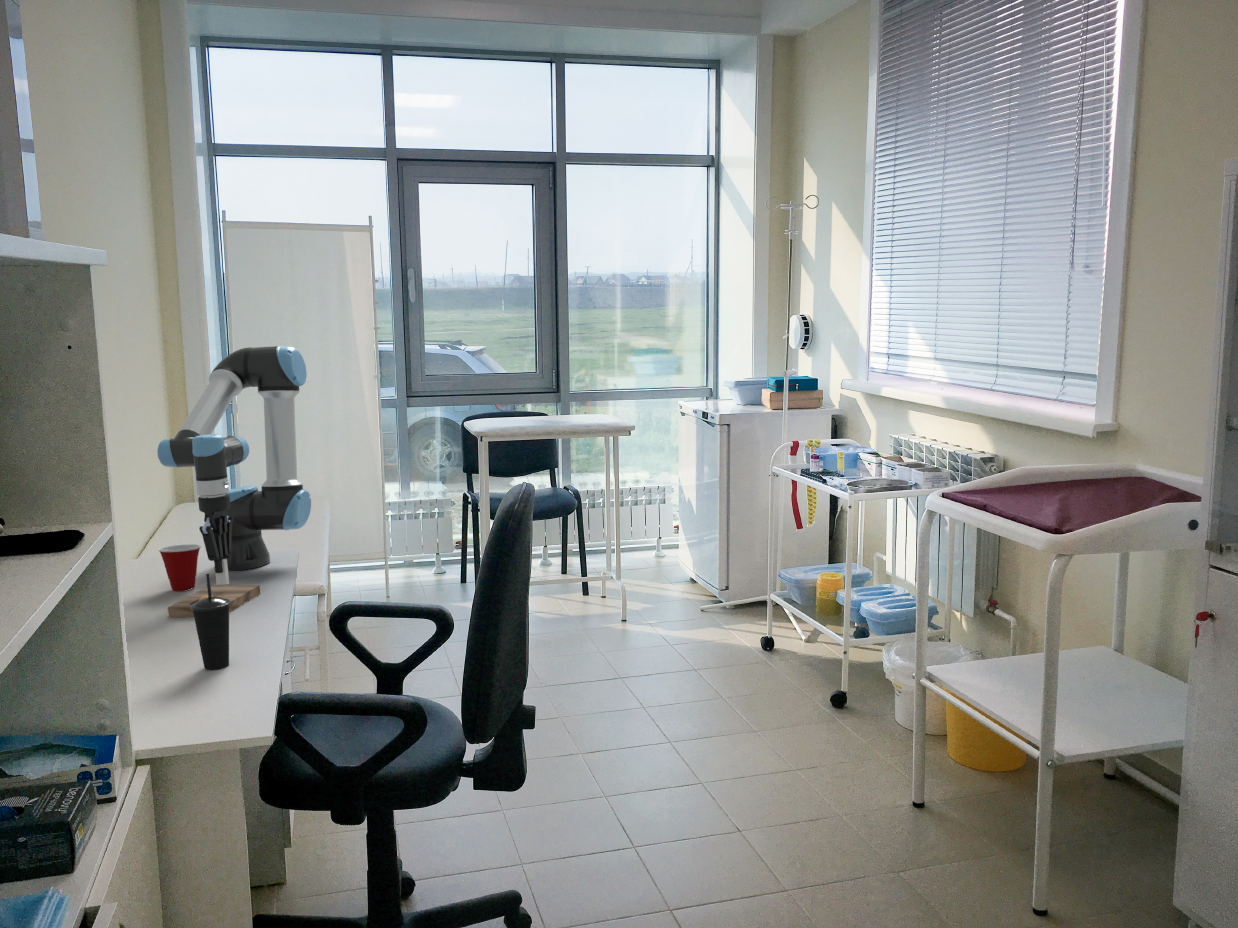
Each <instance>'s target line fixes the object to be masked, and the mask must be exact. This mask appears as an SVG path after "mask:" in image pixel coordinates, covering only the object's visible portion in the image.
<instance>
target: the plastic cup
mask: <svg viewBox="0 0 1238 928" xmlns="http://www.w3.org/2000/svg"><path fill="white" fill-rule="evenodd" d="M201 547H202V545H201V544H189V543H188V544H176V545H175V544H174V545H168V546H167V545H166V546H162V547H158V548H157V549H158V552H159V554H160V556H161V558H162V559H161V560H162V561H163V563H164V568H165V571H166V575H167V578H168V581H169V583H170V587H171V589H172V591H173V592H186V591H185V590H187V591H189V590H188V589H191V588H193V587H196V579H197V572H198V571H197V570H198V558H199V553H200V549H201ZM193 589H194V588H193ZM191 590H192V589H191Z"/></svg>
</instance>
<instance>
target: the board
mask: <svg viewBox="0 0 1238 928" xmlns="http://www.w3.org/2000/svg"><path fill="white" fill-rule="evenodd" d="M210 585H211V584H210ZM260 587H261V586H260V584H248V585H247V584H241V585H238V584H235V585H233V584H230V585H229V584H227V585H217V584H215V585H214V584H213V585H211V595H212V596H213V597H221V598H224V599H228V600H230V605H229V612H230V613H231V611H232V612H233V611H235V610H237V609H239V608H240V607H241V606H240V605H242V606H243V605H245V604H246V603H245V602H247V601H248V602H250V601H251V600H250V599H252V598H253V597H255V596H257V595H258V594H260V595H261V588H260ZM203 595H208V590H207V586H205V587H204V588H201V589H200V590H198V591H196V592H195V593H193V594H191V595H189V596H187V597H185V598H183V599H181V600H179V601H178V602H175V603H173V604H172V605H169V606H168V607H167V614H168V615H167V616H168V618H194V614H193V610H192V609H191V605H192V604H194V603H196V602H198V601H199V599H200V598H201V597H202V596H203ZM258 596H259V595H258ZM258 596H257V597H258ZM255 598H256V597H255ZM253 599H254V598H253ZM253 599H252V600H253ZM249 600H250V601H249ZM248 602H247V603H248ZM244 603H245V604H244ZM239 606H240V607H239ZM236 608H237V609H236ZM234 609H235V610H234Z"/></svg>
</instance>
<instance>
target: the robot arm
mask: <svg viewBox="0 0 1238 928" xmlns="http://www.w3.org/2000/svg"><path fill="white" fill-rule="evenodd" d="M307 375H308V374H307V366H306V363H305V360H304V357H303V355H302V354H301V352H300V351H299V350H298V349H297V348H296V347H293V346H283V345H277V346H259V347H258V346H257V347H255V346H254V347H252V346H251V347H243V348H240V349H237V350H234V351H233V352H231V353H229V354H228V355H227V356H225V357H224V358H223V359H222V360H221V361H220V362H219V363H217V365H215V367H214V368H213V370H212V371H211V373H210V375H209V377H208V385H207V386H206V388H205V389H204V391H203V392H202V394H201V396H200V397H199V399H198V400H197V402H196V404H195V405H194V407H193V408H192V410H191V411H190V413H189V414H188V416H187V418H186V419H185V421H184V422H183V424H182V426H181V427H180V429H179V430H178V432H177V434H176V435H175V436H174V437H173V438H171V437H169V438H167V439H165V438H164V439H163V440H161V441H160V442H159V443H158V445H157V450H156V451H157V452H156V453H157V458H158V460H159V463H160V464H161V465H163V466H164V467H167V468H188V467H189V468H191V467H192V468H193V467H194V470H195V471H194V473H195V481H196V493H197V496H199V497H198V498H197V501H198V502H197V503H198V510H199V511H200V512H201V513H203V514H204V519H203V520H204V525H203V526H199V532H200V533H201V536H202V539H203V544H204V547H205V550H206V551H205V552H206V555H207V559H208V560H209V561H211V562H212V561H213V562H214V571H215V582H216V585H229V584H230V576H229V571H241V570H242V571H243V570H244V571H245V570H249V569H250V570H251V569H254V568H259V567H264V566H266V565H267V564H269V563H270V562H271V556H270V552H269V550H268V548H267V545H266V543H265V541H264V539H263V535H262V531H278V530H279V531H283V530H284V531H290V530H299V529H301V528H303V527H304V526H305V525H306V523H307V522H308V520H309V517H310V515H311V510H312V498H311V493H309V491H308V490H306V489H304V485H303V482H302V481H301V480H300V479H298V467H297V464H298V463H297V437H296V414H295V413H296V410H295V409H296V408H295V397H296V396H298V394H299V393H300V387H302V386H304V385H305V383H306V381H307V380H306V379H307ZM251 387H252V388H257V393H258V395H260V396H261V397H262V398H263V416H264V418H263V419H264V444H265V448H264V449H265V470H266V472H265V474H266V475H265V476H266V480H265V481H264V482H263V483H262V484H261V490H259V488H258V487H257V486H258V485H247V486H239V487H235V488H231V489H229V485H230V482H229V481H228V469H227V468H229V467H232V466H238V464H240V463H242V462H244V461H246V459H247V458H249V457H248V456H249V454H250V446H249V443H248V442H247V440H246V439H245V438H244V437H241V436H239V435H228V436H226V437H223V435H222V434H219V433H213V432H214V431H215V429H216V427H217V426H218V424H219V422H220V421H221V419H222V417H223V416H224V414H225V412H226V411H227V409H228V407H229V405H230V404H231V403H232V401H233V399H234V397H236V396H238V395H240V394H241V392H242V391H243V389H246V388H251Z"/></svg>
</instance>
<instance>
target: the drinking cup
mask: <svg viewBox="0 0 1238 928" xmlns="http://www.w3.org/2000/svg"><path fill="white" fill-rule="evenodd" d="M205 577H206V579H205V580H206V587H207V590H208V598H204V599H201V600H199V601H198V602H196V603H194V604H192V605H191V609H192V610H193V614H194V617H193V619H194V623H195V629H196V633H197V638H198V644H199V649H200V654H201V658H202V662H203V663H202V664H203V667H204V670H205V671H206V670H207V671H217V670H222V669H223V670H224V669H225V668H227V667H229V665H230V613H229V605H230V600H228V599H224V598H221V597H212V595H211V574H210V573H206V574H205Z"/></svg>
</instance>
